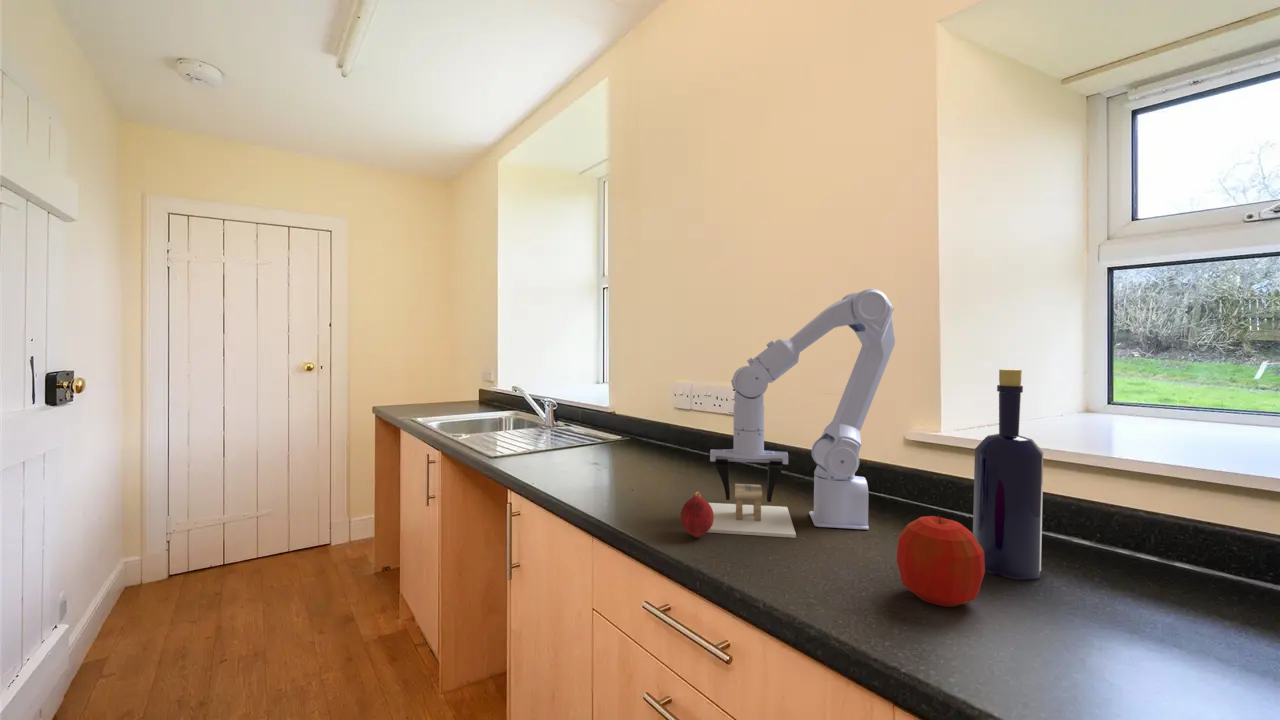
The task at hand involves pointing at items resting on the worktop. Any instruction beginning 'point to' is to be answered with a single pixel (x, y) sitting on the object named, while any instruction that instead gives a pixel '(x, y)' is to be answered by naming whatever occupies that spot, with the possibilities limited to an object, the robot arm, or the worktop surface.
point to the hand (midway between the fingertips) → (748, 499)
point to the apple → (940, 561)
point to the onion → (697, 516)
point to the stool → (748, 493)
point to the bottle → (1009, 491)
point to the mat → (752, 521)
